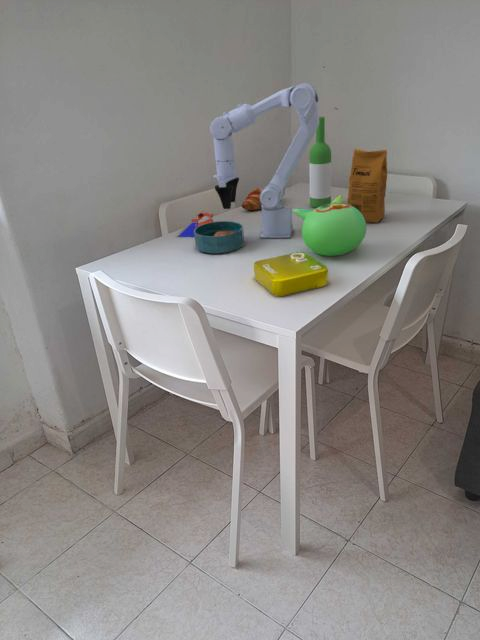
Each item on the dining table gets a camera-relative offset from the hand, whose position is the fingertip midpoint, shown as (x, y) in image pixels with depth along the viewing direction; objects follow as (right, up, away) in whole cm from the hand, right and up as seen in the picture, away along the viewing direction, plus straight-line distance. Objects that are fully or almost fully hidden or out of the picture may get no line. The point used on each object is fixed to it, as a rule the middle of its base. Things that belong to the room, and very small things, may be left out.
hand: (229, 205), depth 156 cm
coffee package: (+45, -2, +10) cm, 46 cm away
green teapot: (+30, -18, -15) cm, 39 cm away
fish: (-10, -5, +11) cm, 16 cm away
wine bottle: (+32, +7, +27) cm, 43 cm away
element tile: (+18, -28, -30) cm, 45 cm away
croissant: (+10, +9, +32) cm, 35 cm away
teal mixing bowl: (-3, -14, -4) cm, 15 cm away
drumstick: (-3, -13, -4) cm, 14 cm away
